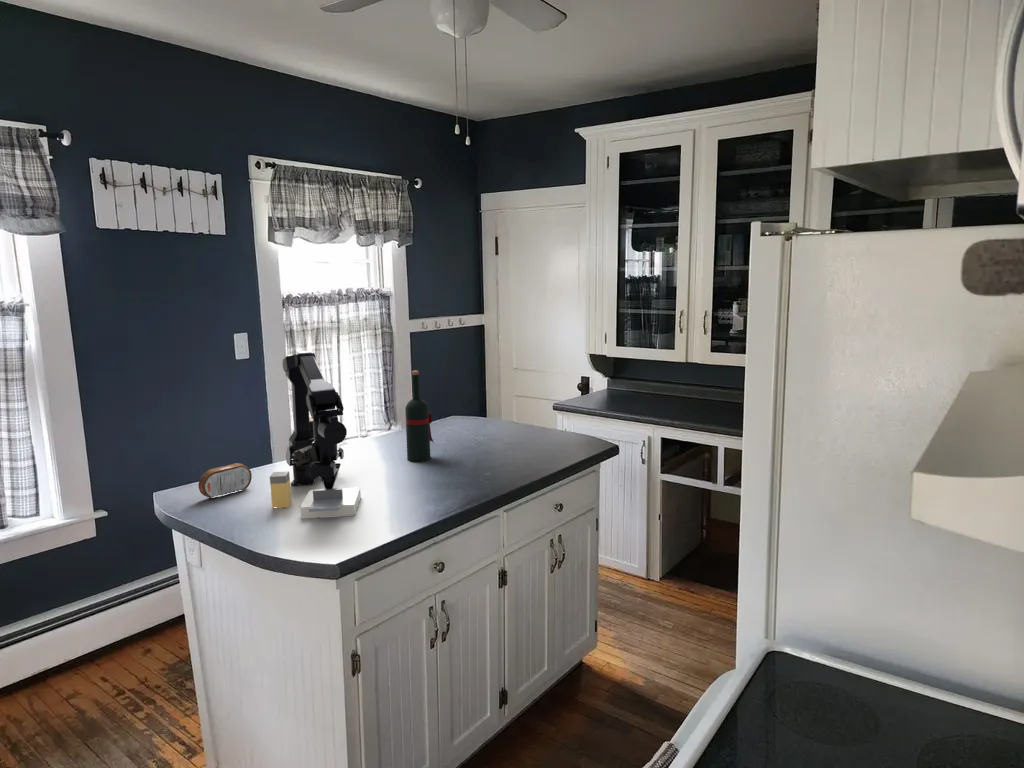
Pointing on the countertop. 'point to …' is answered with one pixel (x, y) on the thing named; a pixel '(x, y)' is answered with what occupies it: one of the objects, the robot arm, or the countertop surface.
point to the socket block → (347, 509)
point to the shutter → (326, 500)
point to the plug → (280, 489)
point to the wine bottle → (418, 425)
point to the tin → (224, 480)
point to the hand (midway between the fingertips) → (329, 492)
